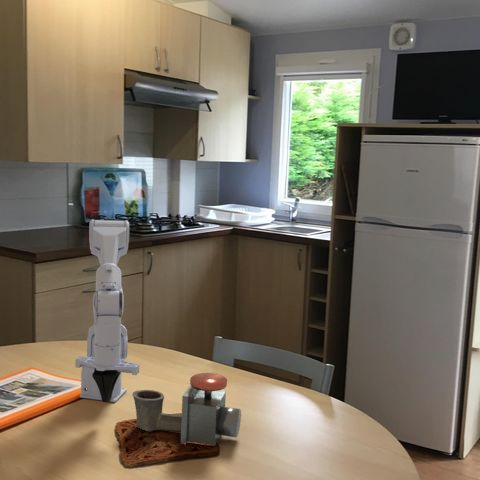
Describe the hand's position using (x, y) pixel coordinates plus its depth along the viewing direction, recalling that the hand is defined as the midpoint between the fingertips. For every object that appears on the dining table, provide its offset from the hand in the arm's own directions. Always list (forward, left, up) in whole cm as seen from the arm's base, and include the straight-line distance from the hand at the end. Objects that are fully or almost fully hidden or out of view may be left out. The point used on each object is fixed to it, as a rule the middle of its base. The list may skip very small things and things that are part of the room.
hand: (106, 400), depth 141 cm
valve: (+25, 0, -5) cm, 25 cm away
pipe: (+13, 0, -5) cm, 14 cm away
